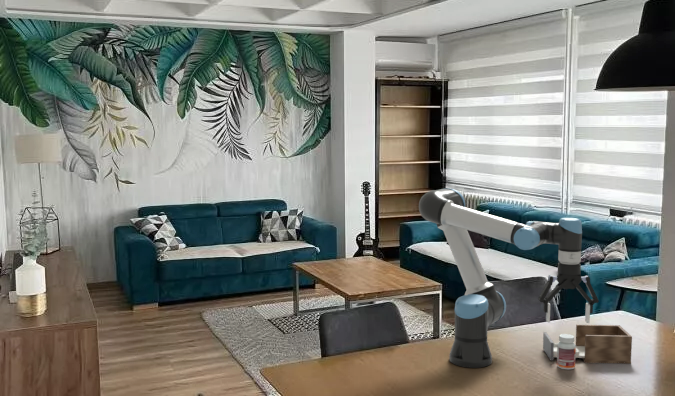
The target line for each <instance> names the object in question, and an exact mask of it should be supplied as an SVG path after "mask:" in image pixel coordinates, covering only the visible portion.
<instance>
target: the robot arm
mask: <svg viewBox="0 0 675 396" xmlns="http://www.w3.org/2000/svg"><path fill="white" fill-rule="evenodd" d="M418 211H419V213H420V216H421V217H422V218H423V219H424V220H425V221H428V222H430V223H434V224H436V226H437V229H439V230H442V231H443V234H444V236H445V238H446V242H447V244H448V246H449V249H450V252H451V254H452V255H453V258H454V261H455V263H456V266H457V268H458V272H459V274H460V276H461V279H462V281H463V284H464V287H465V289H466V291H465V292H464V294H463V295H462V296H459V297H458V298H457V299H456V300H455V304H454V339H453V340H454V341H453V343H452V346H451V349H450V351H449V362H450V363H452V364H453V365H455V366H458V367H463V368H470V369H473V368H474V369H477V368H478V369H479V368H485V367H488V366H490V365H492V363H493V356H492V353H491V350H490V346H489V342H488V328H489V326H491V325H493V324H495V323H497V322H498V321H500V320H501V319H502V317H504V315H505V314H506V310H507V303H506V299H505V297H504V295H503V294H502V293H500V292H499V291H497V290H496V287H495V285H494V283H492V282H490V281H489V280H488V279H487V276H486V273H485V270H484V268H483V266H482V262H481V261H480V258H479V256H478V255H479V254H478V253H477V251H476V248H475V245H474V243H473V241H472V239H471V236H470V233H469V231H470V232H473V233H476V234H480V235H483V236H486V237H490V238H493V239H496V240H499V241H503V242H506V243H509V244H512V245H514V246H516V247H517V248H518V249H520V250H523V251H529V250H530V251H531V250H533V249H535V248H536V247H539V246H540V245H543V244H550V245H558V259H557V260H558V263H557V275H556V276H555V275H552V274H548V277H547V281H546V284H545V285H544V287H543V288H542V291H541V292H540V294H539V295H538V298H537V299H538V301H539V302H540V303H543V307H542V308H543V309H542V310H543V312H544V314H545V321H546V323H551V303H550V302H551V301H552V300H553V298H554V297H555V296H556V295H557V294H558V293H559V292H560V291H561V290H562V289H564V290H569V289H570V290H575V289H576V290H577V291H578V292H579V293H580V294H581V295H582V297H583V298H584V299H585V300H586V301H587V302H586V303H585V315H584V316H585V317H584V318H585V319H584V321H585V322H586V324H590V318H591V314H593V312H594V305H595V304H598V303H599V298H598V295H596V292H595V290H594V287H593V285H592V284H591V278H590V277H589V275H584V276H582V275H581V271H582V267H581V266H582V265H581V261H582V238H583V230H582V229H583V227H582V226H583V225H582V223H583V222H582V220H581V219H580V218H575V217H561V218H559V221H558V222H548V221H547V222H546V221H538V220H533V221H532V220H531V221H530V220H529V221H526V223H525V224H524V223H520V222H517V221H514V220H511V219H508V218H503V217H500V216H497V215H493V214H489V213H486V212H482V211H480V210H476V209H472V208H469V207H466V200H465V198H464V196H463V194H462V193H461V192H460V191H459V190H457V189H454V188H450V187H449V188H447V187H445V188H441V189H436V190H431V191H428V192H426V193H424V194H423V195H422V196H421V197H420V199H419V202H418ZM555 281H557V284H556V285H555V287H554V288H553V289H552V290H551V291H550V289H551V287H552V285H553V283H555ZM582 281H583V283H585V285H586V286H585V287H587V289H588V292H589V294H590V296H591V298H590V296H589V295H588V294H587V293H586V292H585V291H584V289H583V288H582V287H581V285H580V283H581V282H582ZM549 291H550V292H549Z"/></svg>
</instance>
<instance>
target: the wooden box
mask: <svg viewBox="0 0 675 396" xmlns="http://www.w3.org/2000/svg"><path fill="white" fill-rule="evenodd" d="M575 345H576V346H585V358H581V359H582V360H583V361H584V363H585V364H588V363H589V364H621V365H622V364H623V365H624V364H626V365H629V364H632V349H633V348H632V345H633V335H631V334H630V333H629V332H628V331H626V329H624V327H622V326H621V325H617V324H576V327H575Z"/></svg>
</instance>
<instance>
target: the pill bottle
mask: <svg viewBox="0 0 675 396" xmlns="http://www.w3.org/2000/svg"><path fill="white" fill-rule="evenodd" d="M557 343H558V345H557V357H556V366H557V368H559V369H562V370H569V371H570V370H573V369H575V368H576V358H575V355H576V343H575V336H574V335H573V334H570V333H560V334H559V336H558V342H557Z"/></svg>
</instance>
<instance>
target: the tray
mask: <svg viewBox="0 0 675 396" xmlns="http://www.w3.org/2000/svg"><path fill="white" fill-rule="evenodd" d="M542 333H543V338H542V339H543V341H542V342H543V343H542V349H543V350H544V353H545V354H546V356H547V357H548V358H549V360H550V361H553V360H554V358H557V345H558V343H559V342H554V341H553V340H552V338H551V337H550V335H549V334H548V333H547V331H543V332H542ZM578 358H579V359H582V358H585V346H576V355H575V359H578Z"/></svg>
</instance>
